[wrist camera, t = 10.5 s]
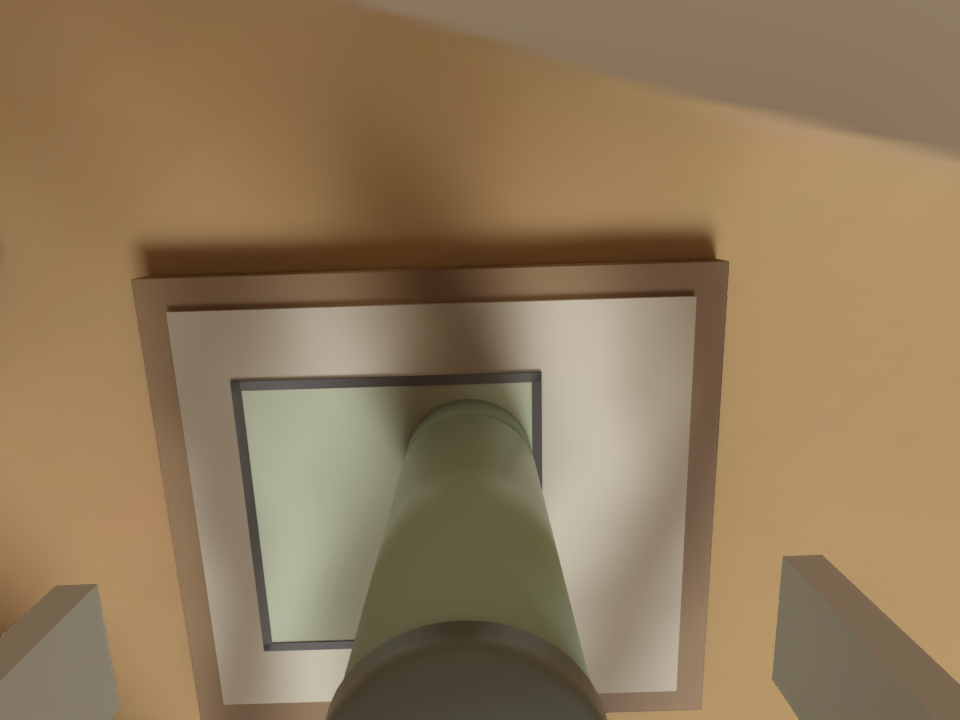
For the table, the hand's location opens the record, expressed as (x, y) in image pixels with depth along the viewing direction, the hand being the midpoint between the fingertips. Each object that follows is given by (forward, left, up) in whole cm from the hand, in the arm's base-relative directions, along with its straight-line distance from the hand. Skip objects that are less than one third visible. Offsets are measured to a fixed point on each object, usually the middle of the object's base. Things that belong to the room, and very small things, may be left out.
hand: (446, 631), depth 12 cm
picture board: (-1, -2, -9) cm, 10 cm away
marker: (0, 0, -8) cm, 8 cm away
